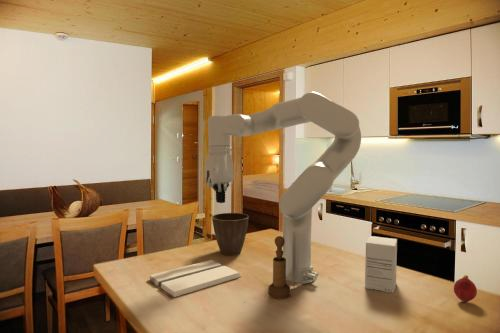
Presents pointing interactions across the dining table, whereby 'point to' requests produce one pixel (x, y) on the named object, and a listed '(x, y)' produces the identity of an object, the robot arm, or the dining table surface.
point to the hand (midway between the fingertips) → (220, 202)
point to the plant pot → (230, 232)
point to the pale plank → (199, 280)
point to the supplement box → (381, 264)
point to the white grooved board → (182, 274)
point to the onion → (465, 289)
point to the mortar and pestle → (279, 273)
